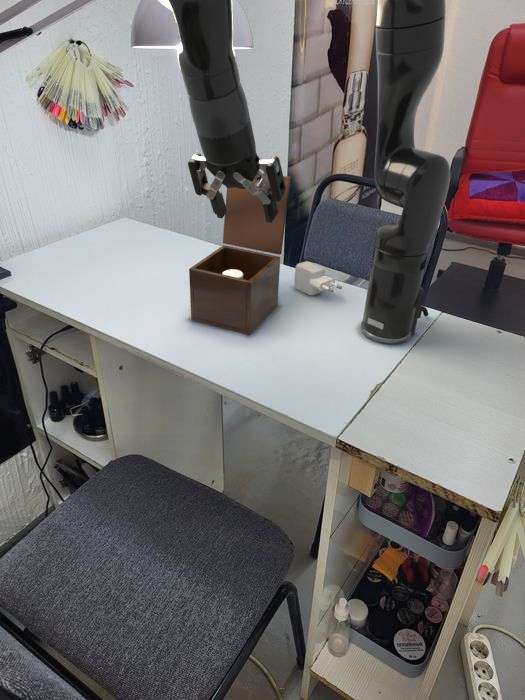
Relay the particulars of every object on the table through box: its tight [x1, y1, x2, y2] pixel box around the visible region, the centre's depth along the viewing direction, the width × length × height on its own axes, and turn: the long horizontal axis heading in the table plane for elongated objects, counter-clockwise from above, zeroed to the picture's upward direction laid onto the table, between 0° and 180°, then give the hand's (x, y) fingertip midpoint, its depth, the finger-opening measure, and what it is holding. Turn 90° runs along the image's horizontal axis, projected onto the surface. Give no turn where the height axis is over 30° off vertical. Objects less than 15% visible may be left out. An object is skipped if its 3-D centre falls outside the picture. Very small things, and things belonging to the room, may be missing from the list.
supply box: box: [188, 244, 281, 336], centre depth 102 cm, size 14×13×11 cm
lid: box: [222, 172, 292, 256], centre depth 101 cm, size 14×13×1 cm
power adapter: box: [294, 260, 343, 296], centre depth 111 cm, size 11×5×6 cm, turn 40°
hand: (246, 217), depth 83 cm, fingers open, 8 cm apart
